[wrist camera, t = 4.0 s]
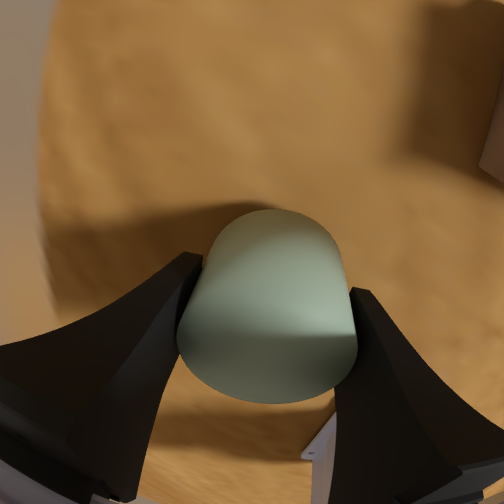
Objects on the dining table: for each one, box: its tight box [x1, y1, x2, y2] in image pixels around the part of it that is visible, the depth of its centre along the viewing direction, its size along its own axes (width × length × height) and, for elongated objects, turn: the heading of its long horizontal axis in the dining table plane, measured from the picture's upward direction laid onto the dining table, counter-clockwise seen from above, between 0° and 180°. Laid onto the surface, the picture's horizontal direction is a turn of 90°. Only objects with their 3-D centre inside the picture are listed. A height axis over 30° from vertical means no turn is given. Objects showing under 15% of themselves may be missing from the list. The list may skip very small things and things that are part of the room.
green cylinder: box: [177, 209, 358, 404], centre depth 10 cm, size 5×5×4 cm
